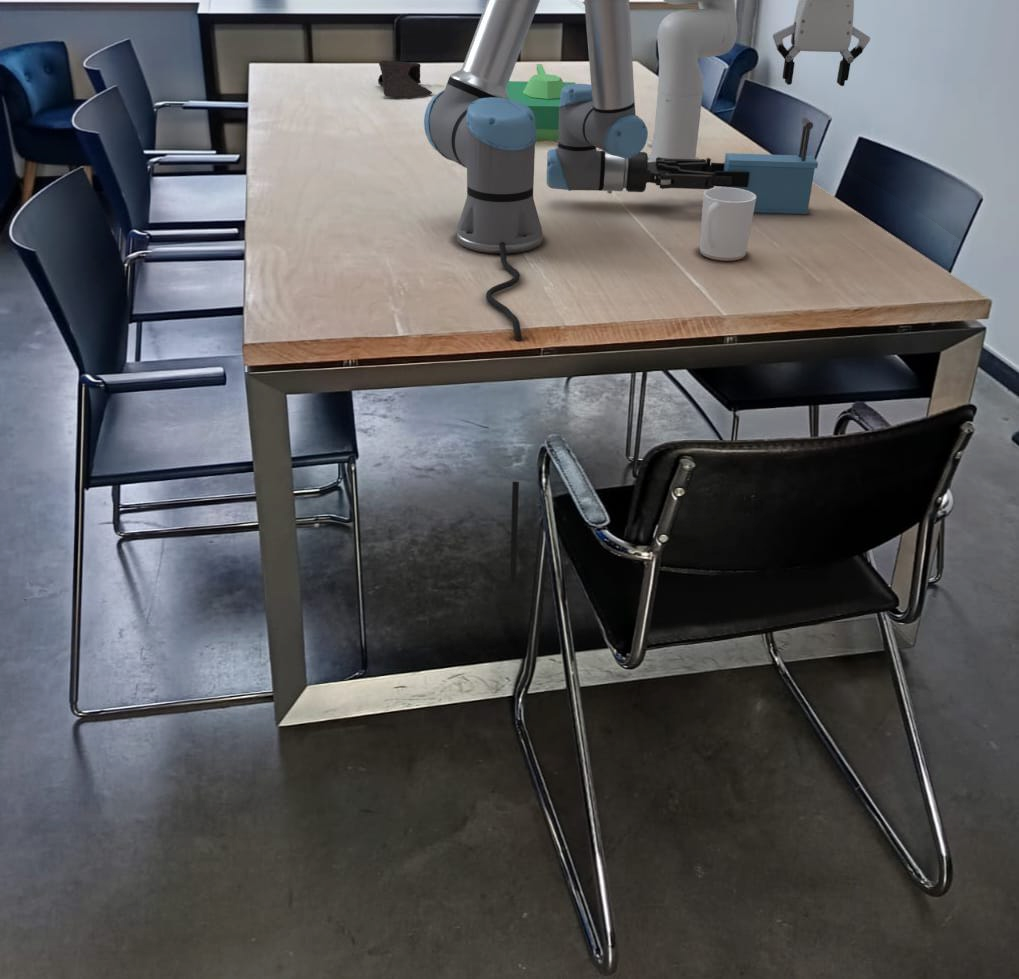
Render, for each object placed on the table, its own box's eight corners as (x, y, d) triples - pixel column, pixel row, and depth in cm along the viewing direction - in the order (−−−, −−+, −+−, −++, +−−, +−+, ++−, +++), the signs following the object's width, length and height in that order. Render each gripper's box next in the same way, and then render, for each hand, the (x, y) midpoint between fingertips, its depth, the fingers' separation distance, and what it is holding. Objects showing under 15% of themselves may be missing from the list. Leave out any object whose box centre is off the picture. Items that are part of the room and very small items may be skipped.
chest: (802, 206, 217) (809, 161, 212) (807, 214, 213) (814, 168, 208) (719, 203, 217) (724, 158, 213) (722, 211, 213) (728, 165, 208)
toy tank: (572, 60, 278) (587, 89, 248) (570, 110, 284) (584, 145, 254) (503, 59, 277) (509, 88, 247) (502, 109, 283) (508, 143, 253)
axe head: (443, 87, 294) (392, 77, 287) (436, 115, 299) (385, 106, 292) (421, 62, 307) (371, 52, 300) (414, 89, 311) (365, 80, 304)
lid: (812, 161, 212) (819, 116, 208) (817, 168, 208) (824, 123, 204) (725, 158, 213) (730, 114, 208) (728, 165, 208) (734, 120, 204)
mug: (713, 241, 197) (720, 184, 192) (757, 252, 193) (765, 194, 187) (681, 256, 190) (687, 197, 185) (726, 268, 185) (733, 208, 180)
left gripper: (622, 178, 222) (737, 181, 221) (627, 204, 206) (750, 208, 206) (624, 140, 218) (741, 143, 217) (630, 164, 203) (756, 168, 202)
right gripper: (873, -19, 196) (856, 81, 205) (777, -21, 197) (763, 78, 206) (884, -14, 190) (866, 89, 199) (784, -16, 190) (770, 87, 199)
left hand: (745, 175), depth 212 cm, fingers closed on chest, 5 cm apart
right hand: (814, 83), depth 202 cm, fingers open, 9 cm apart
